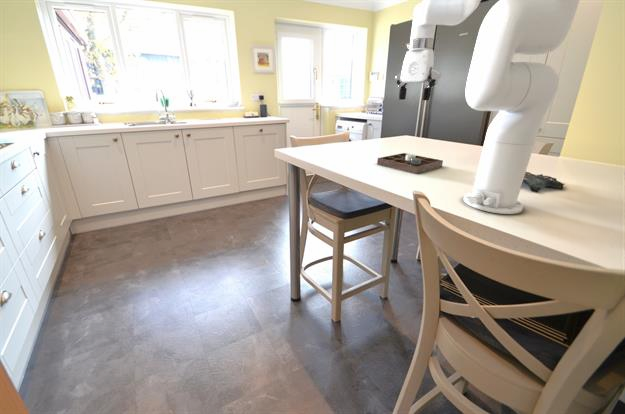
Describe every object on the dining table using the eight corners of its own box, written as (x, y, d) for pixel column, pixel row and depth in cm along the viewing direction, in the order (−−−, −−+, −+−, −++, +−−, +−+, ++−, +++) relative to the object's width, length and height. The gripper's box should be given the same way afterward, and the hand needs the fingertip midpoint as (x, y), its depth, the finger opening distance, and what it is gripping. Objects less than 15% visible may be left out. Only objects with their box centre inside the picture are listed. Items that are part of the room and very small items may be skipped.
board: (416, 174, 96) (417, 166, 95) (376, 164, 108) (377, 158, 108) (441, 167, 106) (443, 160, 105) (403, 158, 118) (403, 152, 117)
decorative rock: (519, 162, 97) (575, 168, 86) (514, 179, 99) (570, 187, 88) (494, 165, 87) (556, 172, 75) (490, 185, 88) (550, 195, 77)
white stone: (411, 166, 105) (412, 156, 103) (402, 164, 107) (404, 154, 106) (416, 164, 107) (418, 155, 105) (408, 162, 109) (409, 153, 108)
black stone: (416, 170, 97) (417, 160, 96) (407, 168, 100) (408, 158, 99) (421, 169, 100) (423, 159, 98) (412, 167, 102) (414, 157, 101)
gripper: (393, 47, 101) (387, 99, 107) (439, 42, 88) (429, 100, 95) (405, 50, 105) (399, 99, 112) (451, 45, 93) (441, 100, 99)
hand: (413, 99), depth 103 cm, fingers open, 9 cm apart
